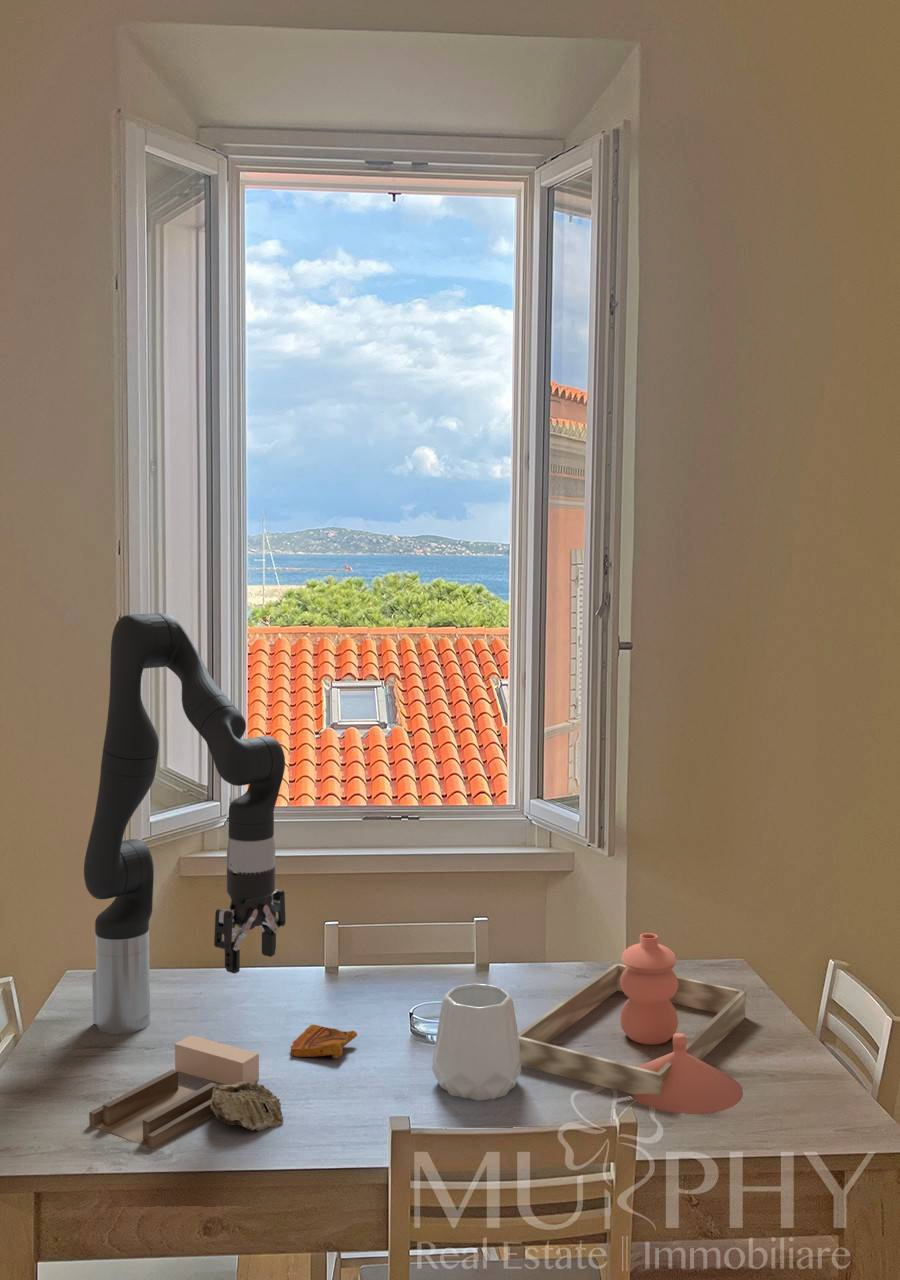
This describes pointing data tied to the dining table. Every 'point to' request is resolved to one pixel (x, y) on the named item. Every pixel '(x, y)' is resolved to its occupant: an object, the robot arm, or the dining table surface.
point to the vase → (477, 1043)
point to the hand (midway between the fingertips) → (250, 963)
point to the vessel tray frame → (616, 1073)
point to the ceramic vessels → (668, 1034)
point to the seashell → (246, 1105)
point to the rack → (154, 1111)
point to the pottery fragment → (321, 1042)
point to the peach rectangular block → (216, 1061)
